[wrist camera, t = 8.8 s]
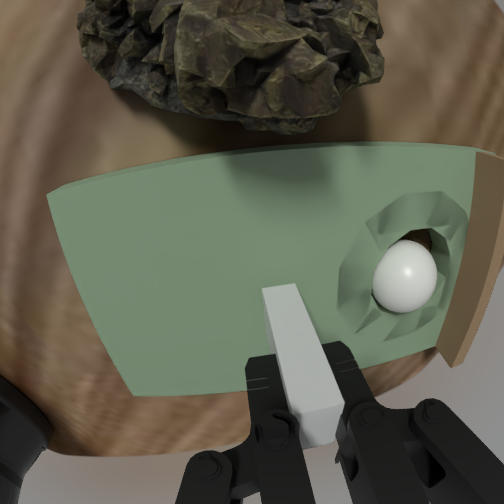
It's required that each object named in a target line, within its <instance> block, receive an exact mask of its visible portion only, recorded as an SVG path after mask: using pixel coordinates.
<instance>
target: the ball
mask: <svg viewBox="0 0 504 504" xmlns="http://www.w3.org/2000/svg"><path fill="white" fill-rule="evenodd" d="M436 283H437V268H436V264H435V261H434V259H433V257H432V255H431V254H430V253H429V251H428V250H427V249H426V248H425V247H423V246H422V245H420V244H419V243H416V242H414V241H410V240H397V241H396V242H394V243H393V244H391V245H390V246H389V247H388V249H387V250H386V252H385V254H384V255H383V257H382V259H381V260H380V262H379V264H378V265H377V267H376V268H375V270H374V275H373V283H372V293H373V295H374V297H375V298H376V300H377V301H378V302H379V303H380V304H381V305H382V306H383V307H385V308H386V309H388V310H390V311H394V312H398V313H407V312H412V311H414V310H417V309H419V308H420V307H422V306H423V305H424V304H425V303H426V302H427V301H428V300H429V299H430V297H431V296H432V294H433V292H434V290H435V287H436Z"/></svg>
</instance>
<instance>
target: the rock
mask: <svg viewBox="0 0 504 504" xmlns="http://www.w3.org/2000/svg"><path fill="white" fill-rule="evenodd" d="M86 3H87V4H86V6H85V8H84V11H83V12H82V13H79V14H78V19H77V28H78V30H79V36H78V38H79V42H80V45H81V49H82V53H83V56H84V57H85V59H86V60H87V61H88V62H89V63H90V65H91V67H92V70H93V72H95V73H96V74H98V75H99V76H101V77H102V78H104V79H105V80H108V81H109V84H110V87H111V89H118V90H133V91H134V92H136V93H137V94H138V95H140V96H141V97H142V98H144V99H145V100H147V101H148V102H149V103H150V104H151V105H152V106H155V107H158V108H161V109H165V110H168V111H172V112H178V113H184V114H189V115H193V116H196V117H200V118H208V119H216V120H226V121H240V122H241V123H242V125H243V126H244V128H245V129H246V130H272V131H274V132H276V133H279V134H287V135H295V134H300V133H305V132H309V131H311V130H314V129H315V126H316V124H317V122H318V119H319V117H320V116H325V115H330V114H333V113H336V112H338V110H339V108H340V106H341V104H342V103H343V101H342V99H341V97H342V96H344V95H345V94H347V93H348V92H350V91H352V90H353V89H355V88H357V87H359V86H362V85H367V84H374V83H379V82H380V80H381V78H382V76H383V74H384V57H383V56H382V54H381V52H380V50H379V48H378V47H377V45H376V39H380V38H382V36H383V33H384V32H383V29H382V26H381V24H380V19H379V16H378V13H377V8H378V3H377V0H86Z"/></svg>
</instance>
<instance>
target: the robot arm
mask: <svg viewBox="0 0 504 504" xmlns="http://www.w3.org/2000/svg"><path fill="white" fill-rule="evenodd" d="M262 296H263V306H264V316H265V326H266V335H267V339H268V344H269V348H270V353H271V354H270V355H263V356H257V357H250V358H249V359H248V361H247V364H246V366H245V376H246V384H247V392H248V401H249V409H250V416H251V430H250V435H249V436H248V438H247V439H246V440H245V441H244V442H243V443H242V444H240V445H238V446H236V447H234V448H232V449H229V450H227V451H224V452H221V453H220V452H217V451H213V450H211V451H202V452H199V453H197V454H195V455H194V456H193V457H192V458H190V460H189V462H188V463H187V466H186V469H185V472H184V475H183V479H182V482H181V485H180V489H179V492H178V495H177V499H176V502H175V504H243V498H245V497H247V496H250V495H252V494H254V493H257V492H260V495H261V502H262V504H316V503H315V499H314V495H313V491H312V487H311V483H310V479H309V475H308V471H307V467H306V463H305V459H304V455H303V451H302V450H304V449H308V448H313V447H318V446H321V445H326V444H330V443H334V441H335V437H336V439H337V442H338V445H339V449H338V452H337V455H336V458H335V463H338V462H339V460H340V463H341V467H342V470H343V473H344V476H345V479H346V483H347V486H348V489H349V492H350V496H351V499H352V502H353V504H430V503H431V504H504V464H503V463H502V462H501V461H500V460H499V459H498V458H497V457H496V456H495V455H494V454H493V453H492V451H490V449H489V448H488V447H487V446H486V445H485V444H484V443H483V442H482V441H481V440H480V439H479V438H478V437H477V436H476V435H475V434H474V433H473V432H472V431H471V430H470V429H469V428H468V427H467V426H466V425H465V423H464V422H463V421H462V420H461V419H460V418H459V417H458V416H456V414H454V412H453V411H452V410H451V409H450V408H449V407H448V406H447V405H445V403H443V402H442V401H440V400H437V399H434V398H432V399H425V400H423V401H421V402H420V403H419V404H418V405H417V406H416V407H415V408H410V409H390V408H386V407H384V406H382V405H380V404H379V403H378V402H377V401H376V400H375V398H374V396H373V394H372V392H371V390H370V388H369V386H368V384H367V382H366V380H365V378H364V376H363V374H362V372H361V370H360V369H359V366H358V364H357V362H356V360H355V358H354V356H353V354H352V352H351V350H350V348H349V347H348V346H346V345H345V344H344V343H343V342H341V341H335V342H330V343H326V344H321V343H320V341H319V339H318V336H317V334H316V331H315V329H314V327H313V324H312V322H311V320H310V317H309V315H308V313H307V310H306V308H305V305H304V303H303V301H302V298H301V296H300V294H299V292H298V289H297V287H296V285H295V283H293V284H287V285H280V286H274V287H267V288H262ZM52 433H53V432H52V428H51V426H50V424H49V422H48V421H47V419H46V418H45V417H44V416H43V414H42V413H41V412H40V411H39V410H38V409H37V408H36V407H35V406H34V405H33V404H32V403H31V402H30V401H29V400H28V399H27V398H26V397H25V396H24V395H22V394H21V393H20V392H19V391H18V390H17V389H16V388H14V387H13V386H12V385H11V384H9V383H8V382H7V381H6V380H4V379H3V378H2V377H1V376H0V504H18V498H19V494H20V489H21V485H22V482H23V479H24V476H25V474H26V472H27V471H28V470H29V469H30V467H31V466H32V465H33V464H34V462H35V461H36V460H37V458H38V457H39V455H40V453H41V452H42V451H45V450H46V449H47V447H48V445H49V442H50V439H51V436H52ZM429 502H430V503H429Z"/></svg>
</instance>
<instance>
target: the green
mask: <svg viewBox="0 0 504 504" xmlns="http://www.w3.org/2000/svg"><path fill="white" fill-rule="evenodd" d="M47 199H48V203H49V207H50V210H51V214H52V217H53V221H54V224H55V227H56V231H57V234H58V237H59V240H60V243H61V246H62V249H63V252H64V255H65V257H66V260H67V263H68V266H69V268H70V271H71V274H72V276H73V279H74V281H75V284H76V286H77V288H78V291H79V293H80V296H81V298H82V300H83V303H84V305H85V307H86V309H87V311H88V314H89V316H90V318H91V320H92V322H93V324H94V326H95V328H96V330H97V332H98V334H99V336H100V338H101V340H102V342H103V344H104V346H105V348H106V350H107V352H108V354H109V355H110V357H111V359H112V361H113V363H114V364H115V366H116V368H117V370H118V371H119V373H120V375H121V376H122V378H123V380H124V382H125V383H126V385H127V386H128V388H129V390H130V391H131V393H132V394H133V396H181V395H200V394H214V393H226V392H236V391H245V390H247V384H246V376H245V366H246V364H247V361H248V359H249V358H250V357H257V356H263V355H270V354H271V353H270V348H269V344H268V339H267V335H266V326H265V316H264V306H263V296H262V288H267V287H274V286H280V285H287V284H293V283H295V285H296V287H297V289H298V292H299V294H300V296H301V298H302V301H303V303H304V305H305V308H306V310H307V313H308V315H309V317H310V320H311V322H312V324H313V327H314V329H315V331H316V334H317V336H318V339H319V341H320V343H321V344H326V343H330V342H335V341H341V342H343V343H344V344H345V345H346V346H348V347H349V348H350V350H351V352H352V354H353V356H354V358H355V360H356V362H357V364H358V366H359V369H363V368H367V367H370V366H374V365H378V364H381V363H385V362H388V361H391V360H395V359H398V358H401V357H404V356H408V355H411V354H414V353H417V352H420V351H423V350H425V349H428V348H431V347H434V346H435V347H436V348H437V350H438V351H439V352H440V354H441V355H442V357H443V358H444V359H445V361H446V362H447V364H448V365H449V366H450V368H453V367H455V366H457V365H459V364H461V363H463V361H464V359H465V357H466V354H467V353H468V351H469V348H470V346H471V344H472V342H473V340H474V337H475V335H476V333H477V331H478V328H479V326H480V323H481V321H482V318H483V316H484V313H485V311H486V308H487V305H488V303H489V300H490V297H491V294H492V291H493V288H494V285H495V282H496V279H497V275H498V272H499V269H500V265H501V262H502V258H503V254H504V158H503V157H500V156H497V155H496V154H495V153H492V152H489V151H485V150H482V149H478V148H474V147H465V146H455V145H444V144H430V143H411V142H324V143H305V144H290V145H277V146H266V147H256V148H246V149H238V150H230V151H222V152H215V153H208V154H201V155H195V156H189V157H183V158H177V159H171V160H166V161H161V162H155V163H150V164H145V165H141V166H136V167H131V168H127V169H122V170H118V171H114V172H110V173H106V174H102V175H98V176H94V177H90V178H86V179H83V180H79V181H75V182H72V183H68V184H65V185H63V186H61V187H60V188H58V189H56V190H54V191H52V192H50V193H48V194H47ZM425 228H428V230H429V233H430V236H431V240H432V248H431V253H430V254H431V255H432V257H433V259H434V261H435V264H436V268H437V283H436V287H435V290H434V292H433V294H432V296H431V297H430V299H429V300H428V301H427V302H426V303H425V304H424V305H423V306H422V307H420V308H419V309H417V310H414V311H412V312H407V313H398V312H394V311H390V310H388V309H386V308H385V307H383V306H382V305H381V304H380V303H379V302H378V301H377V300H376V298H375V297H374V295H373V294H371V291H372V283H373V275H374V270H375V268H376V267H377V265H378V264H379V262H380V260H381V259H382V257H383V255H384V254H385V252H386V250H387V249H388V247H389V246H390V245H391V244H393V243H394V242H396V241H397V240H398V239H400V238H401V237H402V236H404V235H405V234H406V233H408V232H409V231H410V230H417V229H425Z"/></svg>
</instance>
